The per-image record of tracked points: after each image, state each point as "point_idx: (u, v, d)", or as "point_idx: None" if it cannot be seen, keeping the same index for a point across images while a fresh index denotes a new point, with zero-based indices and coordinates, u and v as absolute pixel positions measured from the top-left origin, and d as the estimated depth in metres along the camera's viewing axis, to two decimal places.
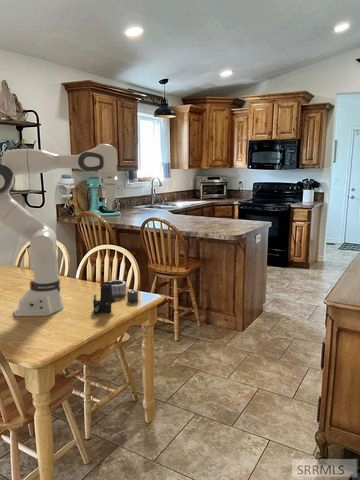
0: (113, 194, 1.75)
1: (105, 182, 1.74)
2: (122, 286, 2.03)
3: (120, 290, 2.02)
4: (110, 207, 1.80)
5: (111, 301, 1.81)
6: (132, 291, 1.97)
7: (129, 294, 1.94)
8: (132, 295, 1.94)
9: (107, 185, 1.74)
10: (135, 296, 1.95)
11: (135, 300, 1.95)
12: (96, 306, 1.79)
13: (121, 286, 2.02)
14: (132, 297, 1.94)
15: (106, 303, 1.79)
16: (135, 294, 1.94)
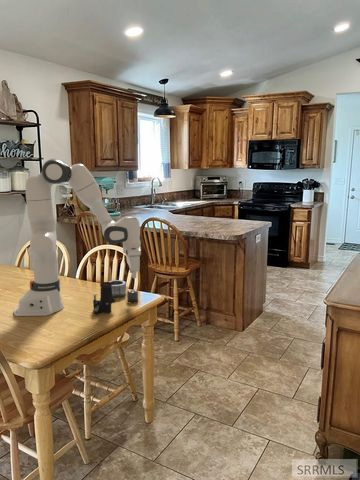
0: (137, 265, 1.84)
1: (130, 254, 1.83)
2: (122, 286, 2.03)
3: (120, 290, 2.02)
4: (134, 276, 1.89)
5: (111, 301, 1.81)
6: (132, 291, 1.97)
7: (129, 294, 1.94)
8: (132, 295, 1.94)
9: (132, 257, 1.84)
10: (135, 296, 1.95)
11: (135, 300, 1.95)
12: (96, 306, 1.79)
13: (121, 286, 2.02)
14: (132, 297, 1.94)
15: (106, 303, 1.79)
16: (135, 294, 1.94)
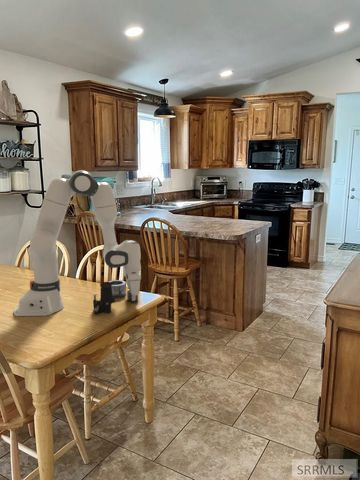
0: (137, 290, 1.86)
1: (130, 279, 1.86)
2: (122, 286, 2.03)
3: (120, 290, 2.02)
4: (133, 298, 1.93)
5: (111, 301, 1.81)
6: None
7: (129, 294, 1.94)
8: None
9: (132, 281, 1.86)
10: None
11: (135, 300, 1.95)
12: (96, 306, 1.79)
13: (121, 286, 2.02)
14: None
15: (106, 303, 1.79)
16: None
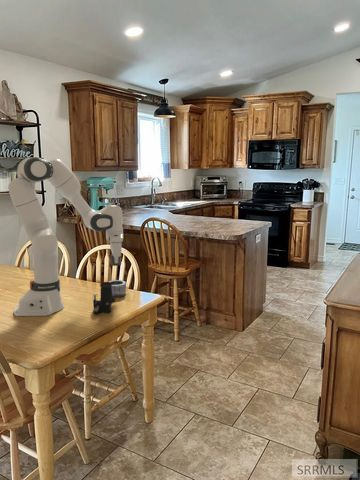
0: (119, 251, 1.93)
1: (112, 241, 1.92)
2: (122, 286, 2.03)
3: (120, 290, 2.02)
4: (116, 261, 1.99)
5: (111, 301, 1.81)
6: None
7: (112, 257, 2.00)
8: None
9: (114, 243, 1.92)
10: (118, 259, 2.01)
11: (117, 263, 2.01)
12: (96, 306, 1.79)
13: (121, 286, 2.02)
14: None
15: (106, 303, 1.79)
16: (118, 257, 2.01)
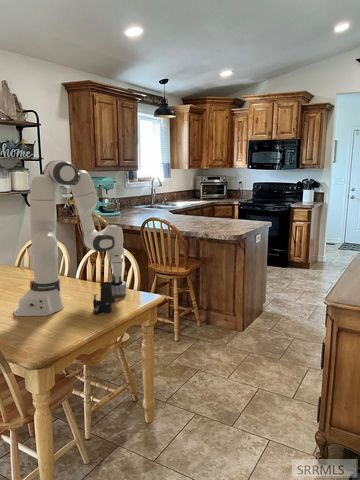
0: (120, 271, 1.95)
1: (113, 261, 1.94)
2: (122, 286, 2.03)
3: (120, 290, 2.02)
4: (117, 280, 2.01)
5: (111, 301, 1.81)
6: None
7: (113, 276, 2.03)
8: None
9: (114, 263, 1.94)
10: (119, 278, 2.03)
11: (118, 282, 2.03)
12: (96, 306, 1.79)
13: (121, 286, 2.02)
14: None
15: (106, 303, 1.79)
16: None
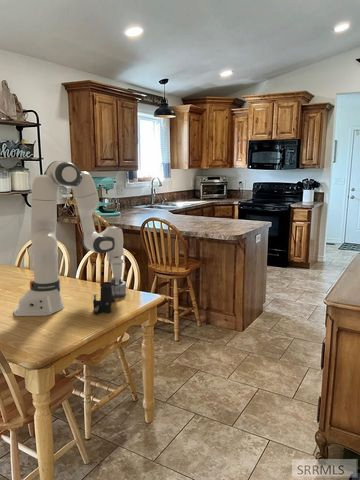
0: (120, 273, 1.95)
1: (113, 262, 1.94)
2: (122, 286, 2.03)
3: (120, 290, 2.02)
4: (117, 283, 2.00)
5: (111, 301, 1.81)
6: None
7: (113, 281, 2.03)
8: None
9: (114, 265, 1.95)
10: None
11: None
12: (96, 306, 1.79)
13: (121, 286, 2.02)
14: (115, 284, 2.03)
15: (106, 303, 1.79)
16: None
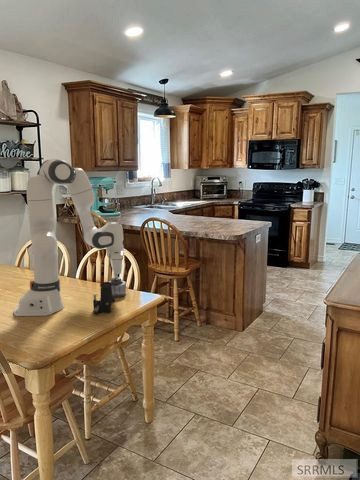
0: (120, 268, 1.94)
1: (112, 258, 1.94)
2: (122, 286, 2.03)
3: (120, 290, 2.02)
4: (116, 276, 2.03)
5: (111, 301, 1.81)
6: (116, 279, 2.06)
7: (113, 281, 2.03)
8: (115, 282, 2.03)
9: (114, 260, 1.94)
10: (118, 283, 2.03)
11: None
12: (96, 306, 1.79)
13: (121, 286, 2.02)
14: (115, 284, 2.03)
15: (106, 303, 1.79)
16: (118, 281, 2.03)
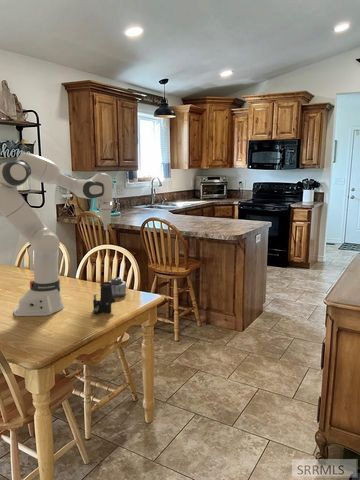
0: (109, 218, 1.96)
1: (101, 207, 1.95)
2: (122, 286, 2.03)
3: (120, 290, 2.02)
4: (105, 228, 2.05)
5: (111, 301, 1.81)
6: (116, 279, 2.06)
7: (113, 281, 2.03)
8: (115, 282, 2.03)
9: (103, 210, 1.96)
10: (118, 283, 2.03)
11: None
12: (96, 306, 1.79)
13: (121, 286, 2.02)
14: (115, 284, 2.03)
15: (106, 303, 1.79)
16: (118, 281, 2.03)
